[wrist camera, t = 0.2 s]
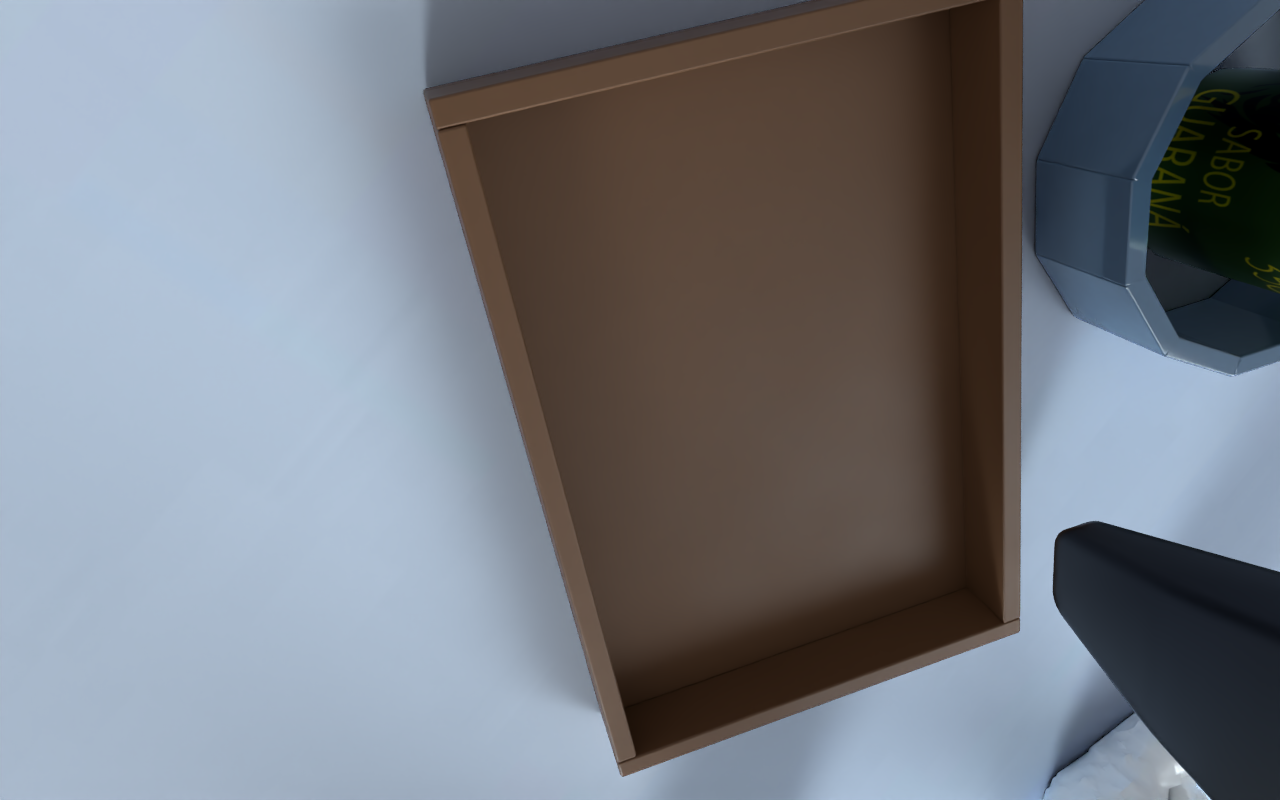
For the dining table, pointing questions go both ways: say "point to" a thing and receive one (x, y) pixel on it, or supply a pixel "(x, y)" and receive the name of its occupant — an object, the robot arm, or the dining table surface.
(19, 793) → the dining table surface
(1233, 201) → the beer can
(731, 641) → the tray
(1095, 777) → the white creature statuette
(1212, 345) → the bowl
